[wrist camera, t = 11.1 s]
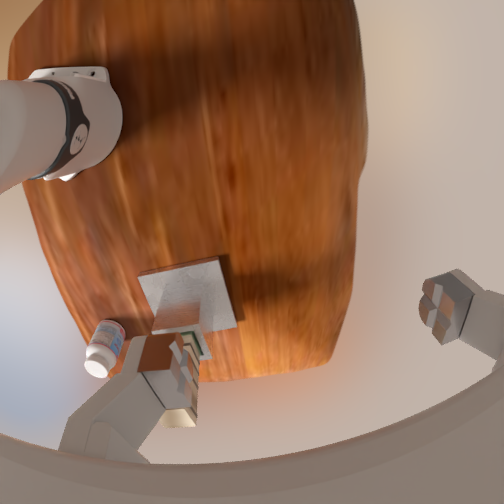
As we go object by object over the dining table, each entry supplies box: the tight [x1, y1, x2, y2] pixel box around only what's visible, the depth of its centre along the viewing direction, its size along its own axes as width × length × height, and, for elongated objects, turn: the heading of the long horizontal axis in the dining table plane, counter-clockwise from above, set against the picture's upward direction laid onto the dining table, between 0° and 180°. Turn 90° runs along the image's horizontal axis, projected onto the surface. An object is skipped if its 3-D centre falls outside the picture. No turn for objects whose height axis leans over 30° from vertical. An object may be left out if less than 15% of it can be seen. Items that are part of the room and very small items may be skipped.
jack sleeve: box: [138, 256, 237, 362], centre depth 44 cm, size 14×14×12 cm
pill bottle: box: [85, 320, 125, 378], centre depth 46 cm, size 6×6×11 cm
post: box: [159, 330, 201, 428], centre depth 35 cm, size 4×4×17 cm
